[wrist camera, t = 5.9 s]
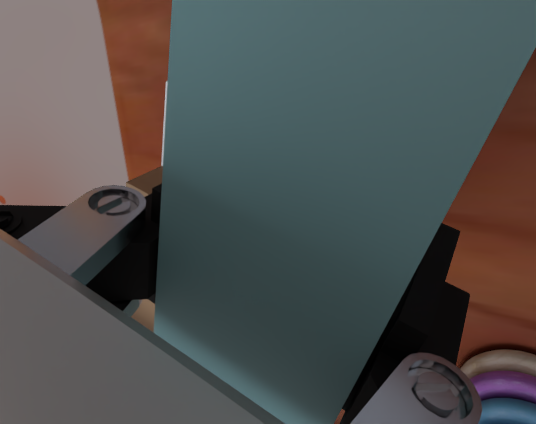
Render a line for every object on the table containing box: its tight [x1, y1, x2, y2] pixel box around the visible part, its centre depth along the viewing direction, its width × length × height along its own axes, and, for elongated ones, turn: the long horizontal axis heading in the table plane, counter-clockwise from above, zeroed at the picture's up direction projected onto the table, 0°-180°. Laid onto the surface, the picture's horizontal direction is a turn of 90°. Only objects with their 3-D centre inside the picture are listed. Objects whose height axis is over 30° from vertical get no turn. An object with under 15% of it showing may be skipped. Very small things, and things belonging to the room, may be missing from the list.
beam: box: [154, 0, 536, 424], centre depth 10 cm, size 16×4×5 cm, turn 167°
